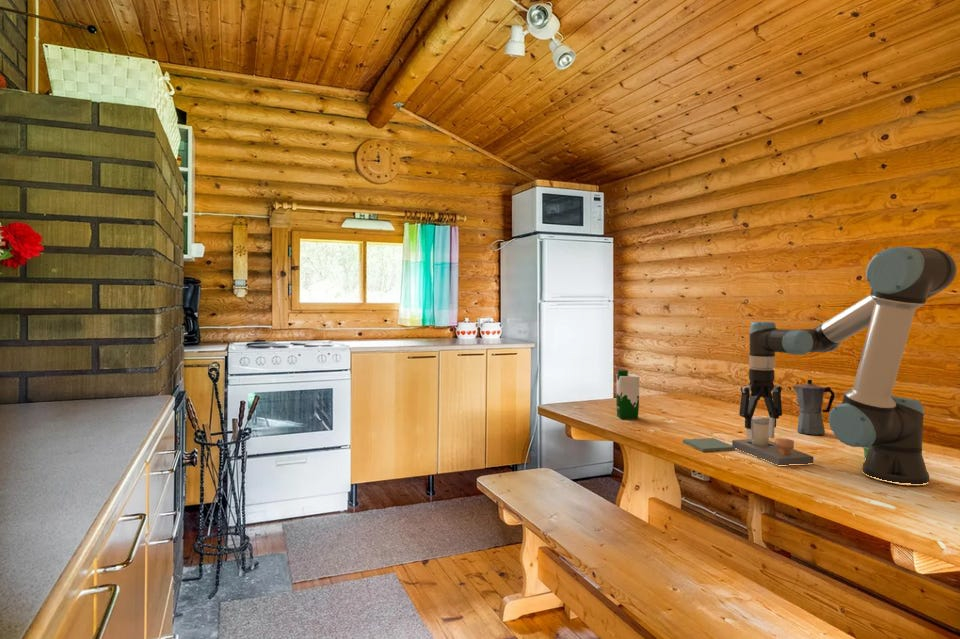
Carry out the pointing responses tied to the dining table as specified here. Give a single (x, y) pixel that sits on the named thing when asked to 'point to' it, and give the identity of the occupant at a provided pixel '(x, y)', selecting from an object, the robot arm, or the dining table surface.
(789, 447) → the brown mushroom
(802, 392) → the moka pot
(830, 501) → the dining table surface
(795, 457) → the housing
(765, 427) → the cylinder
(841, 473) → the dining table surface
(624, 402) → the milk carton
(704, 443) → the mat
